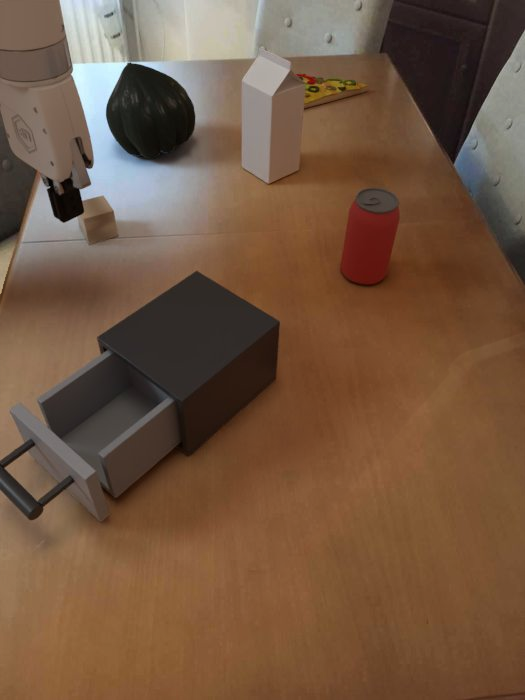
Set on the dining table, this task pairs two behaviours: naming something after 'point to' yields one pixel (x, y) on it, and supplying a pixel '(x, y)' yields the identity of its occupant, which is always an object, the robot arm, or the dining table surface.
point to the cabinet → (199, 352)
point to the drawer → (93, 435)
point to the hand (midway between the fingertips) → (69, 215)
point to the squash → (149, 112)
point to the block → (97, 220)
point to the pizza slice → (328, 89)
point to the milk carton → (271, 118)
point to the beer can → (370, 235)
